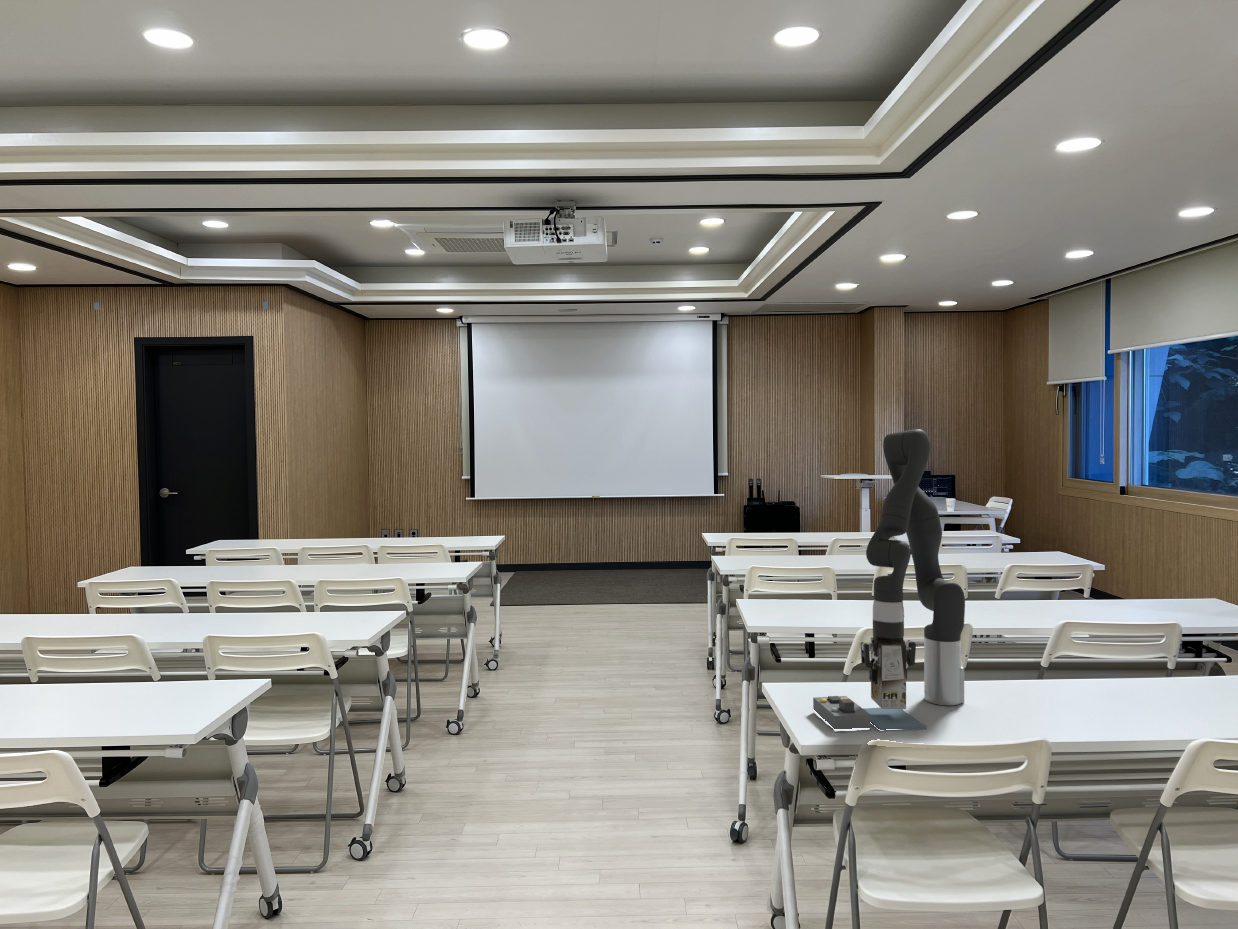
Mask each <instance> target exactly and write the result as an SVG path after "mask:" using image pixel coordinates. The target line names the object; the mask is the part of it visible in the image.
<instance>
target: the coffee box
mask: <svg viewBox="0 0 1238 929" xmlns="http://www.w3.org/2000/svg"><path fill="white" fill-rule="evenodd" d="M872 640H873V636H872V637H870V642H872ZM906 646H907V645H905V644H904V643H902V642H883V643H878V650H877V651H875V650H874V648H873V647H872V648H871V651H870V659H871V658H872V657H871V656H872V654H873V652H874V653H875V656H876V657H878V667H877V670H878V683H877V684H873V683H872V682H871V681H870V698H871V700H872V701H873V702H875V704H876V705H878V706H879V708H882V709H902V710H906V709H907V680H906Z"/></svg>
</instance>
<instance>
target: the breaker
mask: <svg viewBox="0 0 1238 929" xmlns="http://www.w3.org/2000/svg"><path fill="white" fill-rule="evenodd" d="M850 699H851V698H849V697H848V699H839V710H840V711H841V712H842V713H854V700H852V699H851V700H850Z"/></svg>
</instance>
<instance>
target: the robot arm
mask: <svg viewBox="0 0 1238 929" xmlns="http://www.w3.org/2000/svg"><path fill="white" fill-rule="evenodd" d="M882 448H883V456H884V458H885V461H886V465H887V467H888V470H889V473H890V476H891V479H892V482H893V486H892V487H891V489H890V490H889V491H888V493H887V495H886V496H885V499H884V500H883V504H882V506H881V507H882V508H881V512H880V513H881V514H880V517H879V523H878V525H877V527H876V529H875V530H874V533H873V535H872V536H871V538H870V540H869V542H868V544H867V546H866V551H865V554H866V560H867V561H868V563H869V564H870V565H871V566H873V567H880V568H889V569H892V568H893V570H892V572H891V574H888V575H880V576H877V577H875V578H874V581H873V603H872V637H873V640H872V642H871V641H870V642H869V641H868V642H865V641H861V642H860V655H861V656H860V657H861V658H860V660H861V665H862V666H864V667H866V668H868V670H869V672H868V678H869V681H870V683H871V682H872V683H873V684H877V683H878V670H877V667H878V657H876V656H875V653H874V652H873V654H872V656H871V648H872V647H873V648H874V650H875V651H877V650H878V643H883V642H902V643H904V644H905V645H907V646H906V681H907V680H908V668H909V667H911V666H912V667H914V666H915V664H916V650H917V643H916V642H915V641H912V640H906V641H905V639H904V636H905V610H904V609H905V607H904V592H903V591H904V583H905V582H904V581H905V577H906V572H907V570H908V566H909V563H910V561H911V557H912V561H913V566H914V567H913V568H914V573H915V574H914V576H915V582H916V592H917V596H918V598H919V601H920V603H921V605H922V606H923V607H924V608H926V609H927V610H930V612H932V622H931V623H930V624H927V625H925V626H924V629H923V630H924V631H923V645H924V646H923V650H924V651H923V652H924V653H923V654H924V655H923V658H924V659H923V662H924V665H923V667H924V668H923V672H924V673H923V674H924V675H923V676H924V677H923V678H924V681H923V682H924V683H923V684H924V685H923V686H924V687H923V688H924V689H923V690H924V692H923V693H924V694H923V695H924V700H925V701H926V702H928V703H930V704H933V705H934V704H935V705H940V706H948V707H949V706H957V705H960V704H964V703H965V668H964V666H962V663H961V662H962V655H961V654H962V650H961V649H962V647H961V645H962V643H961V641H962V640H961V639H962V633H963V630H964V627H965V613H966V611H965V610H966V598H965V597H966V596H965V593H964V590H963V588H962V586H960V585H959V583H956V582H954V581H951V580H947V579H944V576H943V573H942V570H941V567H940V566H941V565H940V562H939V551H940V548H941V543H942V538H943V528H942V527H943V526H942V523H941V518H940V515H939V511H938V508H937V506H936V505H935V503H934V502H933V500H932V499H931V498H930V497H929V496H928V495H927V494H926V493H925V492H924V490H922V489H921V488H920V486H919V485H920V482H921V480H922V477H923V475H924V472H925V470H926V467H927V464H928V462H929V458H930V453H931V440H930V438H929V436H928V434H927V433H926V431H924V430H923V429H921V428H920V429H919V428H915V429H908V430H902V431H896V432H891V433H887V434H886V435H885V436H884V438H883V442H882ZM905 534H906V538H907V541H908V543H907V542H906V541H904V540H898V539H891V538H894V537H899V536H903V535H905ZM871 657H872V658H871Z"/></svg>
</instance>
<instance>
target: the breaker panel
mask: <svg viewBox="0 0 1238 929" xmlns="http://www.w3.org/2000/svg"><path fill="white" fill-rule="evenodd" d="M837 696H838V697H840V698H841V699H848V698H849V697H848V696H847V695H837ZM812 699H813V700H812V701H813V706H812V710H813V709H814V710H815V711H816V712H817V713H818V714H819V715H820V716H821V717H822V718H823V719H825V721H827V722H828V723H829V724H830V725H831V726H832V727H833V728H834V729H852V728H870V729H871V724H870V714H869V713H868V712H867V711H865V710H864V709H863V707H861V706H860V705H859V704H858V703H856V702H854V701H853V702H854V713H842V712H841V711H840V710H839V703H838V704H831V703H830V702H829V701H828V696H819V697H813V698H812ZM849 699H850V700H852V699H851V698H849Z"/></svg>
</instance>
